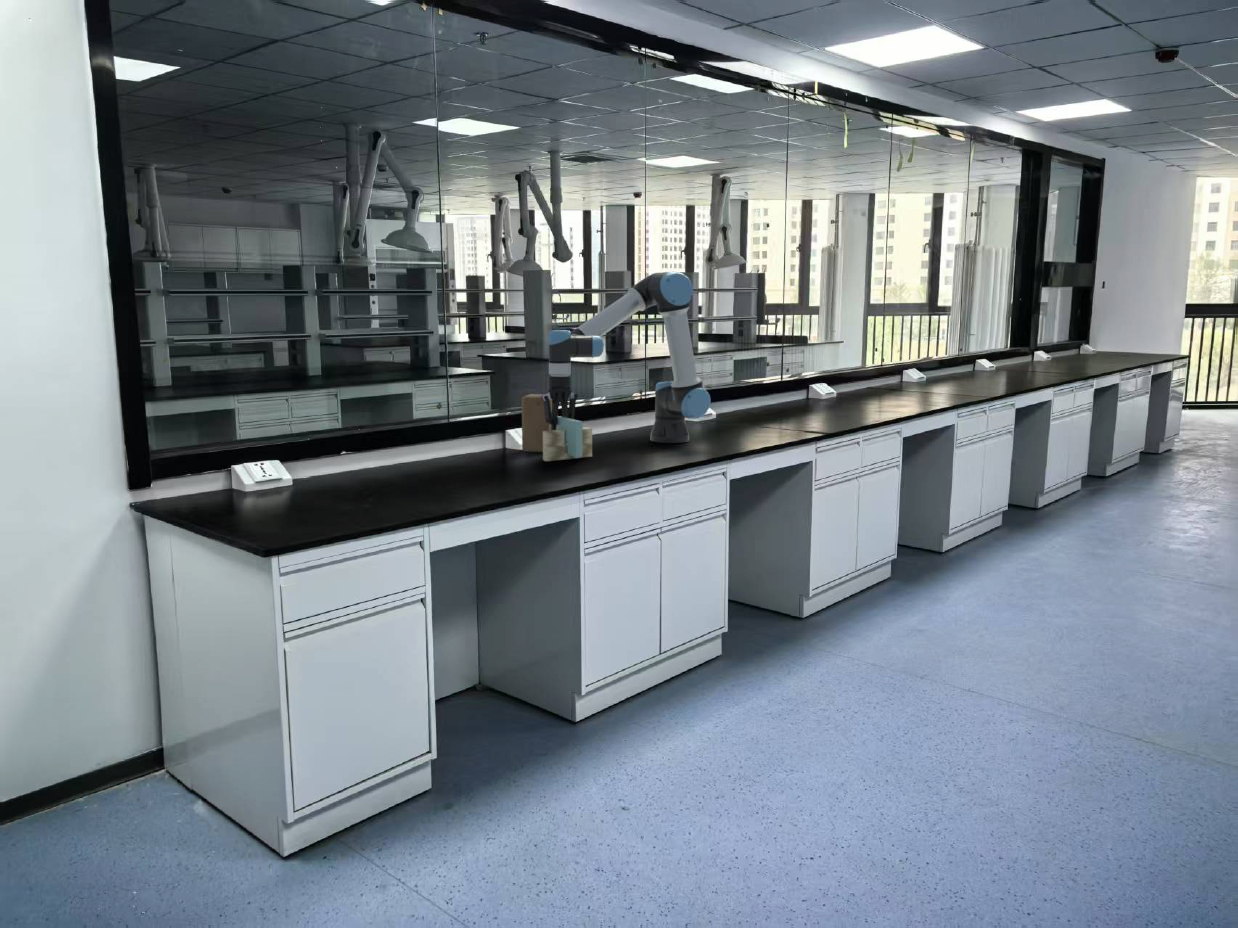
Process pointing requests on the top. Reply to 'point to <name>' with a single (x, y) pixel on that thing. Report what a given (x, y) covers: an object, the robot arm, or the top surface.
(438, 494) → the top surface
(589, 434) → the beige patterned panel
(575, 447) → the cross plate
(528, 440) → the wooden block
